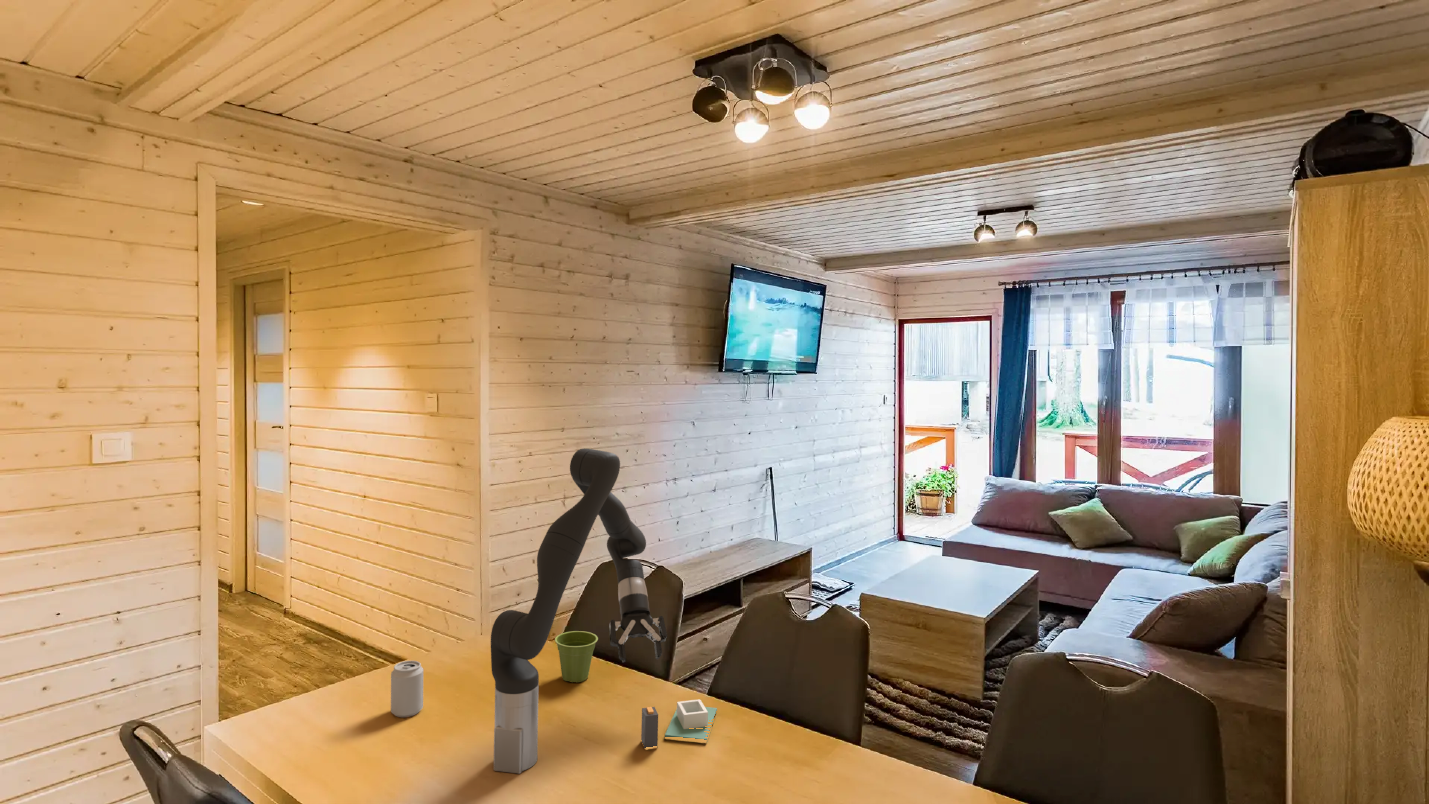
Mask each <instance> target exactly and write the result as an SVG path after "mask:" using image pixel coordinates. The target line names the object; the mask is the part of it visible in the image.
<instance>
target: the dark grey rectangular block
mask: <svg viewBox="0 0 1429 804" xmlns="http://www.w3.org/2000/svg"><path fill="white" fill-rule="evenodd" d="M640 730H641V731H640V732H641V735H640V737H641V739H640V740H642V742H641V744H642V743H643V745H644V747H643V749H644V748H646V747H653V746H657V747H658V745H659V744H658V738H659V736H658V735H659V733H658V732H659V713H658V711H657V709H656V707H655V706H647V707H642V708H641V729H640ZM643 745H642V746H643Z"/></svg>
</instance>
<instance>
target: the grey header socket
mask: <svg viewBox="0 0 1429 804" xmlns="http://www.w3.org/2000/svg"><path fill="white" fill-rule="evenodd" d="M705 707H706V706H705V705H704V703H703V702H702V700H701V699H690V700H682V701H681V700H680V701H677V702H676V709H677V717H678V719H679V721H680V723H681V725H682V727H683V729H689V728H698V727H705V726H708V711H707V710H706V708H705Z"/></svg>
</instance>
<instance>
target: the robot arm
mask: <svg viewBox="0 0 1429 804" xmlns="http://www.w3.org/2000/svg"><path fill="white" fill-rule="evenodd" d="M620 469H621V461H620V458H619V456H618V455H617V454H616V453H614V452H609V451H604V450H600V449H599V450H598V449H593V448H584V447H583V448H580V449H578V450H577V451H576V452H574V454H573V455H572V457H571V460H570V464H569V471H570V472H569V473H570V476H571V478H572V480H573V482H574V483H575V485H576V486H577V487H578V489H579V490H580V491H581V492H582V493H583V496H582V497H581V499H579V500H578V502H577V503H576V504H575V505H574V506H572V507H571V508H570V509H568V510H567V511H566V512H564V513H563V514H562V515H560V516H559V517H558V518H557V519H556V520H554V522H553V523H552V524H551V525H550V526H549V527H548V530H547V531H546V534H545V535H544V537H543V540H542V541H541V544H540V545H539V548H538V551H537V556H536V567H537V581H538V584H537V592H536V595H535V598H534V600H533V603H532V605H531V608H530V610H529V612H528V613H527V612H523V611H520V610H519V611H518V610H515V609H508V610H504V611H503V612H501V613H500V614H499V615H498V616H497V617H496V619H495V621H494V622H493V624H492V628H491V632H490V659H491V660H490V663H491V664H490V665H491V667H490V668H491V674H492V677H493V680H494V730H493V732H494V733H493V771H496V772H503V773H512V774H522V773H523V771H526V770H529V769H530V768H532V767H533V766H535V764H536V763H537V761H538V743H539V742H538V733H539V731H538V730H539V729H538V728H539V677H540V676H539V675H540V674H539V671H538V669H537V668H536V666H534V665H533V664H532V663H531V662H530V661H531V660H533V659H535V658H536V657H537V656H538V655H539V654H540V653H541V652H542V650H543V649H544V646H545V644H546V642H547V640H548V639H549V636H550V632H551V629H552V627H553V623H554V621H555V617H556V614H557V611H558V609H559V606H560V603H561V600H562V598H563V595H564V593H565V590H566V588H567V585H568V582H569V580H570V578H571V576H572V572H573V571H574V570H575V567H576V564H577V563H578V561H579V558H580V556H581V554H582V552H583V549H584V548H585V544H586V542H587V540H588V537H589V535H590V532H591V530H592V528H593V526H594V524H595V521H596V519H597V518H598V517H599V518H600V521H601V523H602V525H603V527H604V529H605V532H606V533H607V535H608V536H609V537H608V538H607V540H606V548H607V551H608V553H609V556H610V557H611V560H612V562H613V564H614V566H615V570H616V571H615V572H616V576H617V577H616V578H617V579H616V580H617V585H618V587H617V589H618V590H617V594H618V603H619V613H620V621H616V620H615V619H611V620H610V622H609V626H608V628H609V629H608V630H609V646H610V647H616V648H617V651H618V659H619V661H622V663H626V660H627V656H626V648H625V647H626V646H625V643H626V642H627V640H628V639H629V637H630V638H631V639H635V638H644V637H646V638H647V639H648V640H650V641H652V642H653V643H654V644H653V647H654V654H655V659H656V660H659V659H660V657H661V656H662V653H663V649H662V643H664V642H666V640H667V638H668V633H667V632H668V631H667V628H666V623H665V620H664V616H663V615H659V617H657V618H656V617H654V618H653V617H652V615H651V611H650V602H649V596H648V589H647V586H646V585H647V584H646V582H645V575H644V567H643V563H642V562H641V561H640V560H638V559H625V558H628V557H629V558H630V557H634V556H637V555H641V554H642V553H643V552H644V551H645V550H646V547H647V540H646V537H645V535H644V533H643V531H642V530H641V529H640V528H639V527H638V526H637V525H636V524H635V523H634V522H633V521H632V520H631V518H630V515H629V513H628V511H627V508H626V507H625V505H624V504H623V502H622V501H621V500H620V499H619V498H618V497H617V496H616V495H615V494H614V493H613V492H612V490H613V488H614V486H615V485H616V482H617V480H618V477H619V474H620ZM653 625H655V627H657V628H658V631H659V634H658V633H656V631H655V629H653V627H652V626H653ZM619 627H620V629H622V631H623V633H622V635H621V637H620V639H617V633H616V631H618V629H619Z"/></svg>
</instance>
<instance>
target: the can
mask: <svg viewBox="0 0 1429 804" xmlns="http://www.w3.org/2000/svg"><path fill="white" fill-rule="evenodd" d="M423 708H424V668H423V666H422V663H421V662H420V661H417V660H403V661H400V662H398V663H396V664H395V665H394V666H393V670H392V671H391V673H390V712H391V714H392V715H394V716H395V717H398V718H408V717H413V716H415V715H417V714H419V712H421V710H423Z"/></svg>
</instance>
